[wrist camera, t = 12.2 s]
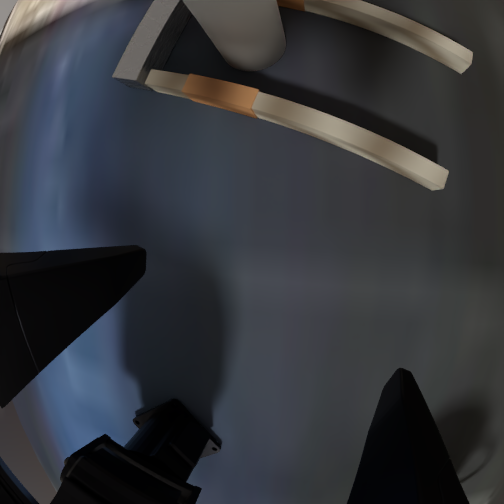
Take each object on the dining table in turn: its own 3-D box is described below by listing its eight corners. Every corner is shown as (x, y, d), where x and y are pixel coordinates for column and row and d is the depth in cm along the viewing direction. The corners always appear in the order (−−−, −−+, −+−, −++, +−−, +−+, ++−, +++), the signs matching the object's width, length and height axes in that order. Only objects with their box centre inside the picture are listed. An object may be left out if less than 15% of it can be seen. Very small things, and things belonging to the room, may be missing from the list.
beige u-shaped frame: (462, 62, 15) (475, 48, 13) (431, 191, 17) (446, 189, 15) (185, -15, 18) (175, -30, 16) (128, 88, 21) (111, 78, 18)
